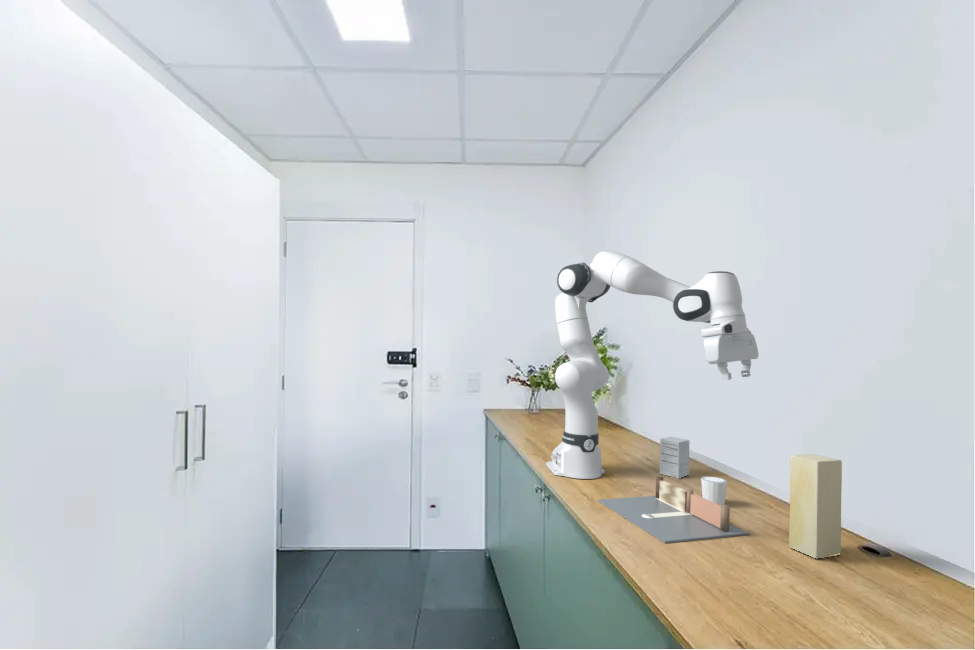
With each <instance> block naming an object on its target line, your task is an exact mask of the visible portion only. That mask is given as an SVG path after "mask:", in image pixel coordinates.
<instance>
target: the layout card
mask: <svg viewBox="0 0 975 650" xmlns="http://www.w3.org/2000/svg"><path fill="white" fill-rule="evenodd" d="M598 501H599V502H598ZM597 502H598V503H600V504H601V503H602V504H601V505H603V506H604V505H605V507H606V506H607V507H606V508H608V509H609V508H610V509H609V510H611V511H612V510H613V512H614V511H615V512H614V513H615V514H617V513H618V514H617V515H619V516H620V515H621V517H622V516H623V517H622V518H623V519H625V518H626V520H627V521H628V522H630V523H632V524H633V523H634V524H633V525H635V526H636V527H638V528H640V529H641V528H642V529H641V530H643V531H645V532H646V533H648V534H649V533H650V535H651V536H653V537H655V538H656V539H657V540H659V541H660V542H662V543H664V544H670V543H671V544H672V543H682V542H691V541H703V540H712V539H713V540H714V539H721V538H730V537H731V538H732V536H733V537H741V535H744V536H750V532H748V531H747V530H744V529H743V528H740V527H738V526H737V525H734V524H731V523H730V522H729V531H724V530H721V529H720V528H719V527H717V526H715V525H713V524H711V523H709V522H707V521H705V520H703V519H701V518H699V517H697V516H695V515H692V514H690V513H688V512H686V511H683V510H681V509H679V508H677V507H675V506H673V505H671V504H669V503H667V502H665V501H663V500H661V499H658V498H656V495H650V496H648V495H647V496H633V497H617V498H602V499H597Z"/></svg>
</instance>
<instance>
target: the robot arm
mask: <svg viewBox="0 0 975 650" xmlns="http://www.w3.org/2000/svg"><path fill="white" fill-rule="evenodd" d="M556 284H557V287H558V289H559V290H560V291H561V293H559V294H558V295H557V296H556V297H555V299H554V300H555V301H554V314H555V323H556V327H557V329H556V330H557V332H558V338H559V344H560V347H561V348H562V350H563V351H564V352H565V353H566V355H567V357H568V359H569V361H566V362H563V363H562V364H560V365H559V366H558V367H557V368H556V370H555V374H554V380H555V384H556V385H557V387H558V388H559V389H560V391H561V395H562V398H563V399H562V400H563V402H564V404H563V405H564V410H565V412H564V414H565V417H564V430H563V432H562V434H561V435H562V438H561V442H560V443H559V444H558V445H557V446H556V447H555V448H554V449H553V451H552V452H551V453H550V457H551V459H552V460H550V461H546V462H545V466H546V467H547V468H548V470H550V471H551V473H553V475H554V476H561V477H567V478H573V479H579V480H580V479H583V480H590V479H591V480H592V479H598V478H601V477H602V475H604V474H605V472H606V471H605V469H603V468H602V467H603V465H602V450H601V448H600V447H599V444H600V443H599V442H600V441H599V440H600V437H599V432H598V427H599V426H598V424H599V420H598V419H599V410H598V408H597V407H596V405H595V403H594V398H593V393H592V392H595V391H598V390H601V388H603V387H605V386H606V385H607V383H608V382H609V379H610V372H609V370H608V368H607V366H606V365H605V364H604V363H603V361H602V359H601V357H600V355H599V352H598V351H597V348H596V345H595V342H594V341H593V338H592V334H591V328H590V323H589V318H588V314H587V313H588V312H587V304H588V303H593V302H596V300H598V299H599V298H601V297H603V296H605V295H606V294H607V293H608V292H609V291H610V288H611V287H612V288H614V289H616V290H618V291H620V292H624V293H627V294H631V295H639V296H651V297H658V298H663V299H665V300H667V301H670V302H672V308H673V313H674V314H675V315H676V316H677V318H678V319H680V320H683V321H685V322H693V323H706V324H708V325H707V326H705V327H704V328H702V329H701V331H700V332H701V337H702V338H703V349H704V355H705V359H706V361H707V363H708V364H709V365H715V364H716V365H717V369H718V371H719V372H720V373H721V378H722V380H723V381H729V380H731V379H732V372H729V370H728V363H731V362H732V363H733V362H740V363H741V365H742V370H740V373H741V377H742V378H748V377H751V367H752V360H757V359H758V358H759V355H760V354H759V348H758V344H757V341H756V337H755V336H754V334H753V333H752V332H751V330H750V329H749V328H748V326H747V320H746V314H745V311H744V310H743V306H742V304H743V296H742V291H741V287H740V282H739V280H738V277H737V276H736V274H734V273H733V272H730V271H722V270H721V271H719V270H718V271H710V272H708V273H706V274H705V275H704V276H703V277H702V278H701V279H700V280H699V281H698V282H696V283H695V284H693V285H691V286H688V285H686V284H683V283H681V282H679V281H676V280H673V279H671V278H669V277H666V276H665V275H663V274H662V273H660V272H658V271H656V270H655V269H653V268H651V267H649V266H648V265H646V264H644V263H643V262H641V261H639V260H637V259H635V258H633V257H631V256H629V255H626V254H623V253H619V252H617V251H610V250H602V251H600V252H598V253H597V254H596V255H595V256H594V257H593V259H592V262H591V263H590V264H587V263H585V262H579V263H574V264H573V263H572V264H568V265H566V266H564V267H562V268H561V269H560V271H559V272H558V274H557V278H556Z"/></svg>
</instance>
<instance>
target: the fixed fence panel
mask: <svg viewBox="0 0 975 650" xmlns="http://www.w3.org/2000/svg"><path fill="white" fill-rule="evenodd" d="M655 496H656V498H658V499H661V500H663V501H665V502H667V503H669V504H671V505H673V506H675V507H677V508H679V509H681V510H683V511H686V509H687V489H683V488H682V487H680V486H677V485H674V484H673V483H669V482H668V481H665V480H664V477H663V476H660V475H659V476H656V477H655Z"/></svg>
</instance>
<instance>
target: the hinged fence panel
mask: <svg viewBox="0 0 975 650" xmlns="http://www.w3.org/2000/svg"><path fill="white" fill-rule="evenodd" d="M686 491H687V509H686V512H688V513H690V514H692V515H695V516H697V517H699V518H701V519H703V520H705V521H707V522H709V523H711V524H713V525H715V526H717V527H719V528H720V529H721V530H724V531H729V523H730V515H731V513H730V511H731V509H730V508H731V506H730V505H728V504H725V503H724V504H721V506H720V505H718V504H716V503H714V502H711V501H709V500H707V499H704V498H703V497H702V496H700V495H698V494H695V493H694V490H693V489H686Z"/></svg>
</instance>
